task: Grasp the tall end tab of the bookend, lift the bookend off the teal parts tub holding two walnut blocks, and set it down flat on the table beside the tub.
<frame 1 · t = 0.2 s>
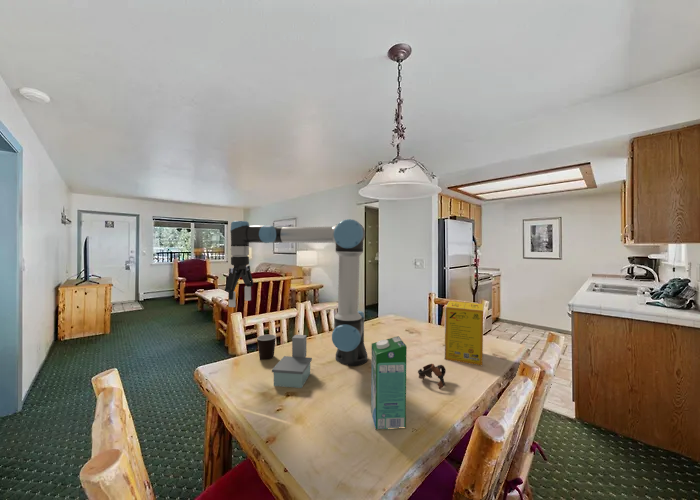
hand: (240, 303, 127), 28 cm above the table, tool pointing down, fingers open, 13 cm apart
walnut block A: (299, 376, 116), point 1 cm above the table, touching tub
packaging box: (464, 356, 139), on the table
tub: (292, 380, 114), on the table
bookend: (292, 365, 113), point 6 cm above the table, touching tub
coffee mug: (268, 357, 137), on the table
milk carton: (387, 420, 89), on the table
brown curved piece: (433, 383, 113), on the table
walnut block B: (285, 381, 111), point 1 cm above the table, touching tub
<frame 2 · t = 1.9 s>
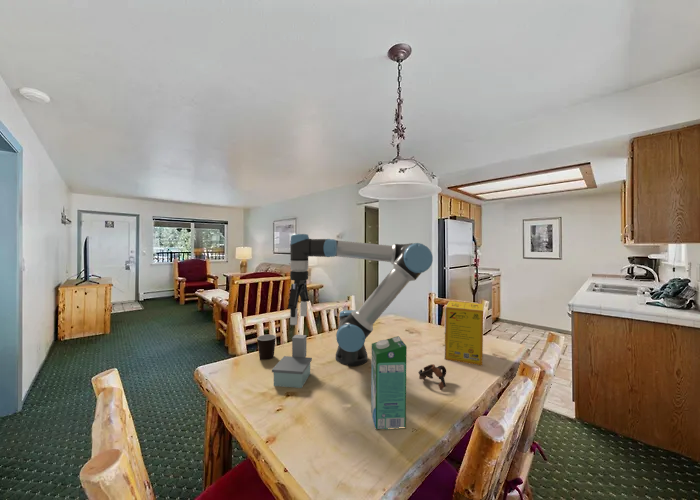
hand: (298, 320, 121), 22 cm above the table, tool pointing down, fingers open, 13 cm apart
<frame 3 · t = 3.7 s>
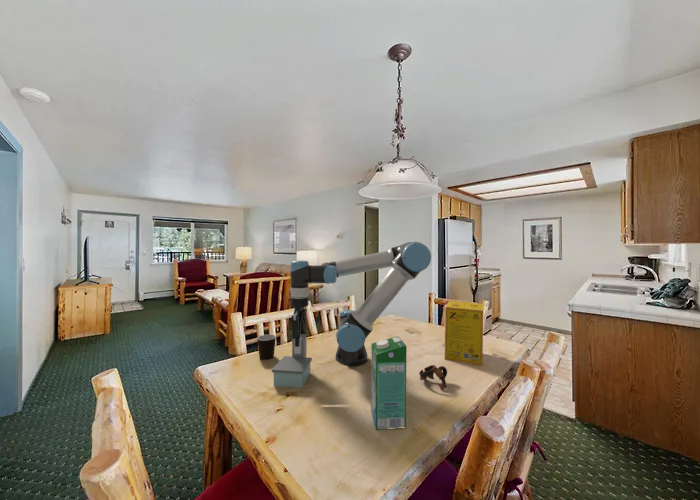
hand: (299, 351, 122), 9 cm above the table, tool pointing down, fingers closed on bookend, 4 cm apart
bookend: (292, 365, 113), point 6 cm above the table, touching gripper, tub
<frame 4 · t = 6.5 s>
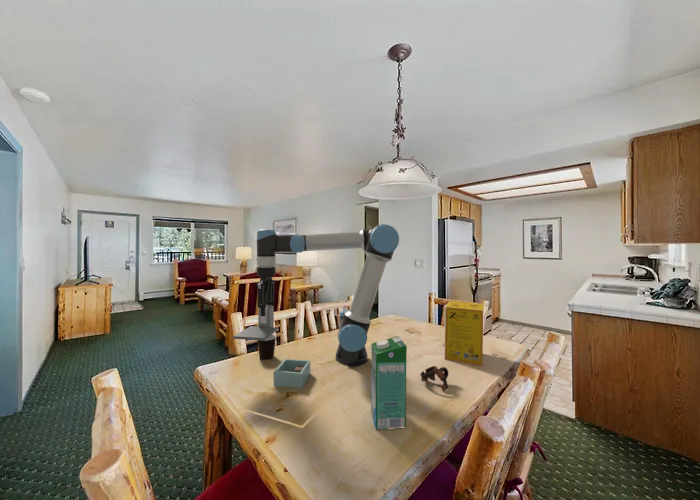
hand: (266, 321, 120), 22 cm above the table, tool pointing down, fingers closed on bookend, 4 cm apart
bookend: (256, 334, 112), point 19 cm above the table, touching gripper
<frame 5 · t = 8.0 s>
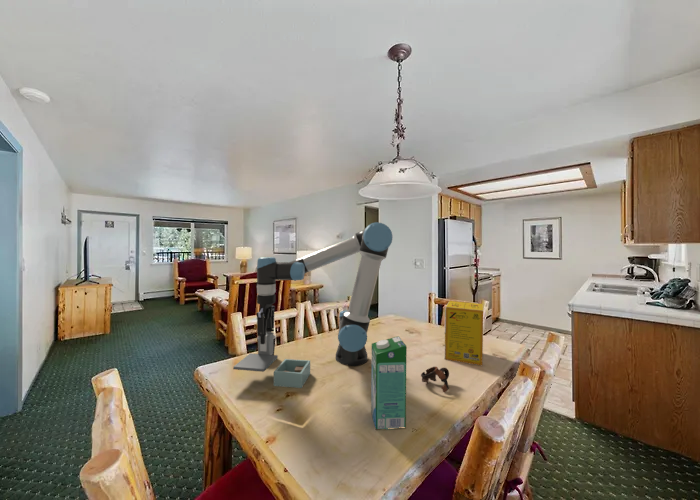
hand: (265, 348, 120), 10 cm above the table, tool pointing down, fingers closed on bookend, 4 cm apart
bookend: (256, 363, 112), point 7 cm above the table, touching gripper
when the fingers open (4 cm above the table, at t = 9.2 s): bookend drops 2 cm, on the table.
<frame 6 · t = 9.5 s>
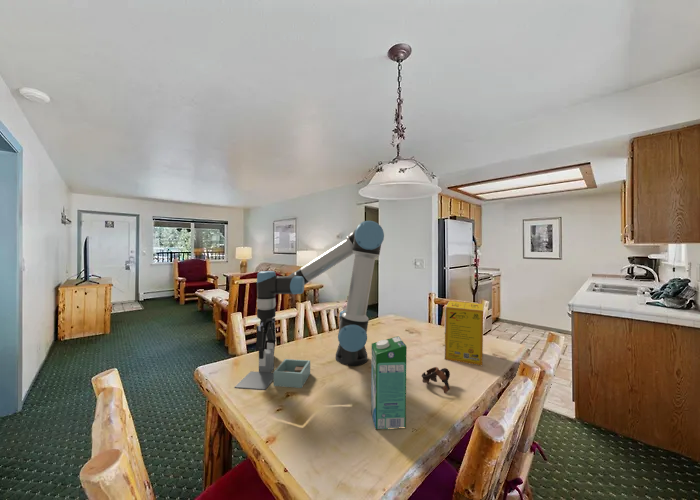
hand: (266, 361, 121), 5 cm above the table, tool pointing down, fingers open, 7 cm apart
bookend: (257, 382, 112), on the table
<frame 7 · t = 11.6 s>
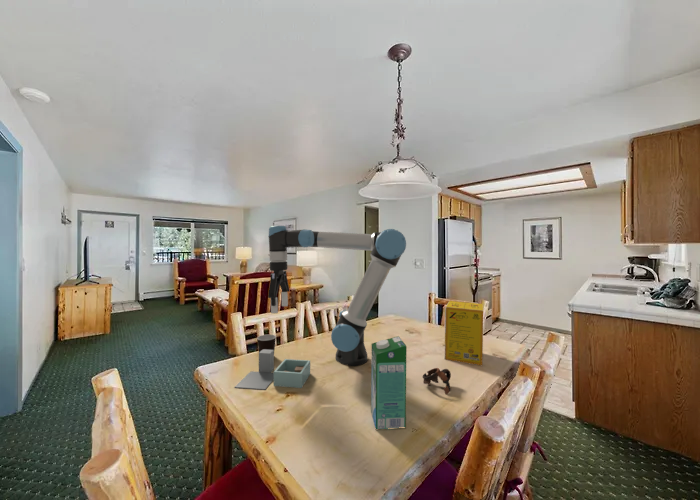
hand: (279, 309, 125), 26 cm above the table, tool pointing down, fingers open, 13 cm apart
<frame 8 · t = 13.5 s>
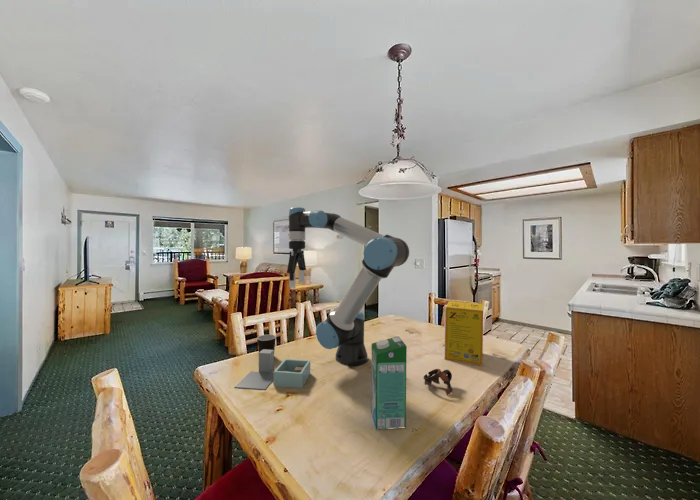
hand: (297, 285, 135), 35 cm above the table, tool pointing down, fingers open, 13 cm apart
at the end: bookend inside the target area (0.1 cm from its centre), on the table; bookend touching table; bookend tilted 0° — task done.
